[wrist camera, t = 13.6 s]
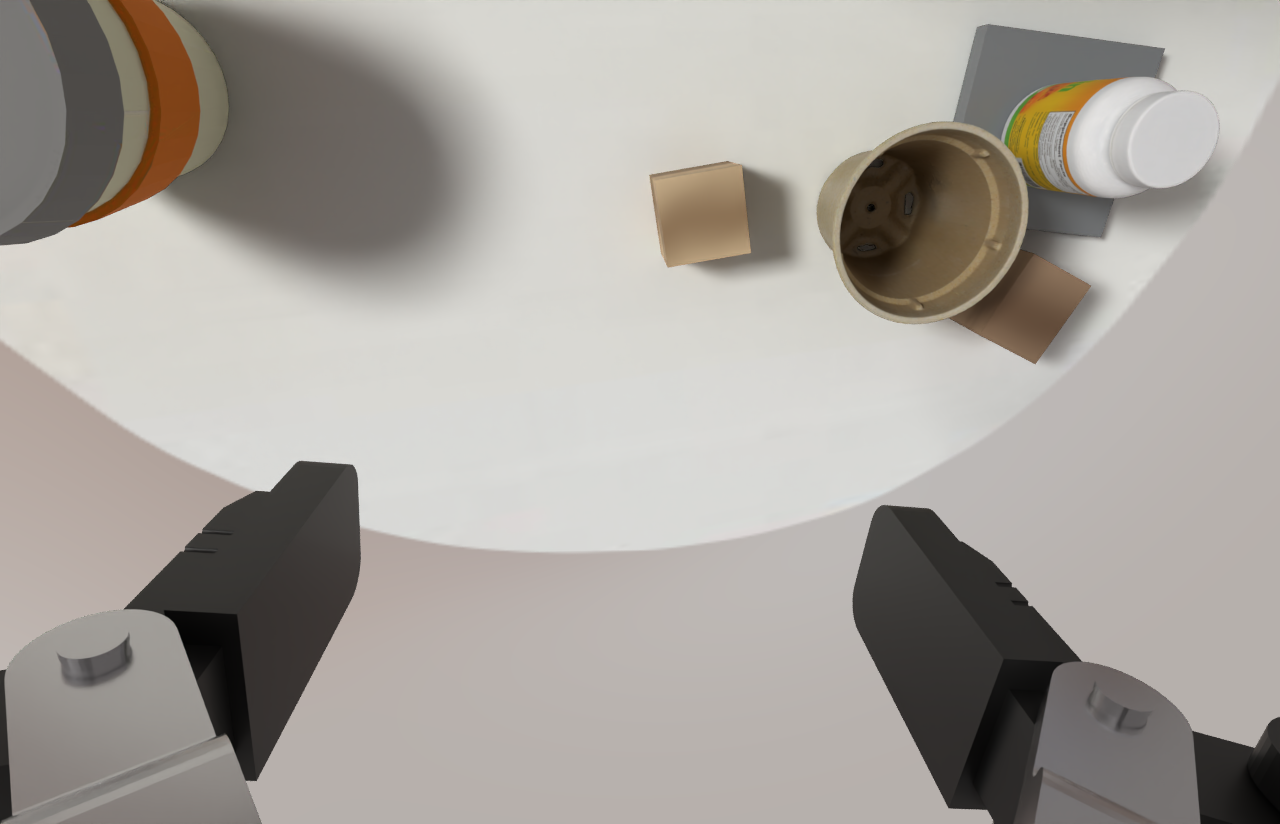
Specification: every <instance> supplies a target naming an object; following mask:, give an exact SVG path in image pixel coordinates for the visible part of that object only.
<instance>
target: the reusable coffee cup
mask: <svg viewBox="0 0 1280 824" xmlns="http://www.w3.org/2000/svg"><path fill="white" fill-rule="evenodd" d="M228 113H229V102H228V91H227V87H226V83H225V79H224V76H223V72H222V70H221V68H220V66H219V63H218V61H217V59H216V57H215V55H214V53H213V52H212V50H211V49H210V47H209V46H208V44H207V43H206V41H205V40H204V38H203V37H202V36H201V35H200V34H199V33H198V32H197V31H196V29H195V28H194V27H193V26H192V25H191V24H190V23H189V22H188V21H186V20H185V19H184V18H183V17H181V16H180V15H179V14H178V13H176V12H175V11H174V10H172V9H170V8H169V7H167V6H165V5H163V4H161V3H160V2H158V1H156V0H0V245H11V244H23V243H29V242H32V241H36V240H39V239H42V238H45V237H49V236H52V235H55V234H57V233H58V232H60V231H62V230H63V229H65V228H68V227H75V226H79V225H82V224H85V223H88V222H92V221H95V220H98V219H101V218H103V217H105V216H108V215H110V214H113V213H115V212H117V211H120V210H122V209H124V208H127V207H129V206H132V205H134V204H136V203H139V202H141V201H143V200H146V199H148V198H150V197H151V196H153V195H155V194H157V193H158V192H160V191H162V190H163V189H165V188H166V187H167V186H168V185H169V184H170V183H171V182H172V181H173V180H174V179H176V178H177V177H178V176H180V175H183V174H185V173H188V172H190V171H192V170H194V169H195V168H197V167H199V166H201V165H202V164H204V163H205V162H206V161H207V160H208V159H209V158H210V157H211V156H212V155H213V154H214V153H215V151H216V149H217V148H218V146H219V145H220V143H221V141H222V139H223V136H224V133H225V130H226V127H227V122H228Z"/></svg>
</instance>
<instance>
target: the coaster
mask: <svg viewBox="0 0 1280 824" xmlns="http://www.w3.org/2000/svg"><path fill="white" fill-rule="evenodd" d="M1164 50H1165V49H1164V48H1157V47H1150V46H1142V45H1135V44H1128V43H1121V42H1113V41H1106V40H1099V39H1091V38H1084V37H1077V36H1070V35H1062V34H1055V33H1048V32H1040V31H1033V30H1026V29H1019V28H1011V27H1004V26H997V25H990V24H988V25H984V26H980V27H977V29H976V33H975V37H974V41H973V45H972V49H971V53H970V57H969V61H968V65H967V69H966V73H965V77H964V81H963V85H962V89H961V93H960V97H959V101H958V105H957V109H956V113H955V117H954V121H953V122H960V123H966V124H970V125H974V126H977V127H980V128H982V129H984V130H986V131H988V132H989V133H991V134H993V135H994V136H996V137H997V138H998V139H1000V140H1001V137H1002V133H1003V130H1004V127H1005V124H1006V122H1007V119H1008V118H1009V116H1010V114H1011V113H1012V111H1013V110H1014V108H1015V107H1016V106H1017V105H1018V104H1019V103H1020V102H1021V101H1022V100H1023V99H1024V98H1025V97H1026V96H1028V95H1029V94H1031V93H1032V92H1034V91H1036V90H1038V89H1040V88H1042V87H1045V86H1048V85H1053V84H1060V83H1071V82H1081V81H1091V80H1102V79H1114V78H1125V77H1152V78H1155V77H1156V74H1157V71H1158V68H1159V65H1160V62H1161V59H1162V56H1163V53H1164ZM1027 191H1028V200H1029V208H1028V223H1027V227H1026V229H1031V230H1040V231H1049V232H1058V233H1067V234H1076V235H1085V236H1094V237H1101V236H1102V233H1103V230H1104V227H1105V224H1106V221H1107V218H1108V215H1109V212H1110V209H1111V206H1112V204H1113V201H1114V198H1102V197H1093V196H1087V195H1080V194H1073V193H1066V192H1059V191H1051V190H1044V189H1037V188H1033V187H1029V186H1027Z"/></svg>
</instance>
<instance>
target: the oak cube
mask: <svg viewBox="0 0 1280 824" xmlns="http://www.w3.org/2000/svg"><path fill="white" fill-rule="evenodd" d="M649 176H650V183H651V189H652V196H653V202H654V209H655V216H656V222H657V229H658V236H659V242H660V249H661V254H662V256H663V258H664V260H665V263H666V265H667V267H674V266H679V265H685V264H691V263H696V262H702V261H708V260H714V259H719V258H725V257H731V256H737V255H742V254H748V253H751V248H750V239H749V229H748V219H747V210H746V200H745V190H744V181H743V171H742V165H739V164H736V163H732V162H729V161H726V162H720V163H714V164H709V165H703V166H697V167H692V168H686V169H680V170H675V171H669V172H663V173H658V174H652V175H649Z"/></svg>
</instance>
